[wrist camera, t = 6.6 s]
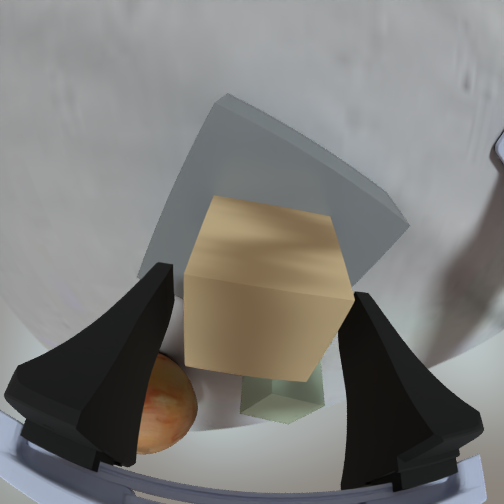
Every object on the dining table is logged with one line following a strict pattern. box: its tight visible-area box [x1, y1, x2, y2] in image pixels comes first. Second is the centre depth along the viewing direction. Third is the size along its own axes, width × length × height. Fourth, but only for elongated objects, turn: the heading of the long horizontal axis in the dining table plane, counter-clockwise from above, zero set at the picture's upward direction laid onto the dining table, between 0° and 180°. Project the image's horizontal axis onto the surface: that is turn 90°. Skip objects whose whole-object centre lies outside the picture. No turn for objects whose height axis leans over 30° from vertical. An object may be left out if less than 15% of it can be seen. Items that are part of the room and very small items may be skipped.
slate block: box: [137, 94, 410, 299], centre depth 15 cm, size 10×10×4 cm
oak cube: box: [184, 195, 355, 382], centre depth 12 cm, size 5×5×5 cm
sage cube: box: [240, 360, 325, 424], centre depth 23 cm, size 5×5×5 cm
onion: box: [137, 353, 198, 454], centre depth 23 cm, size 10×10×10 cm
